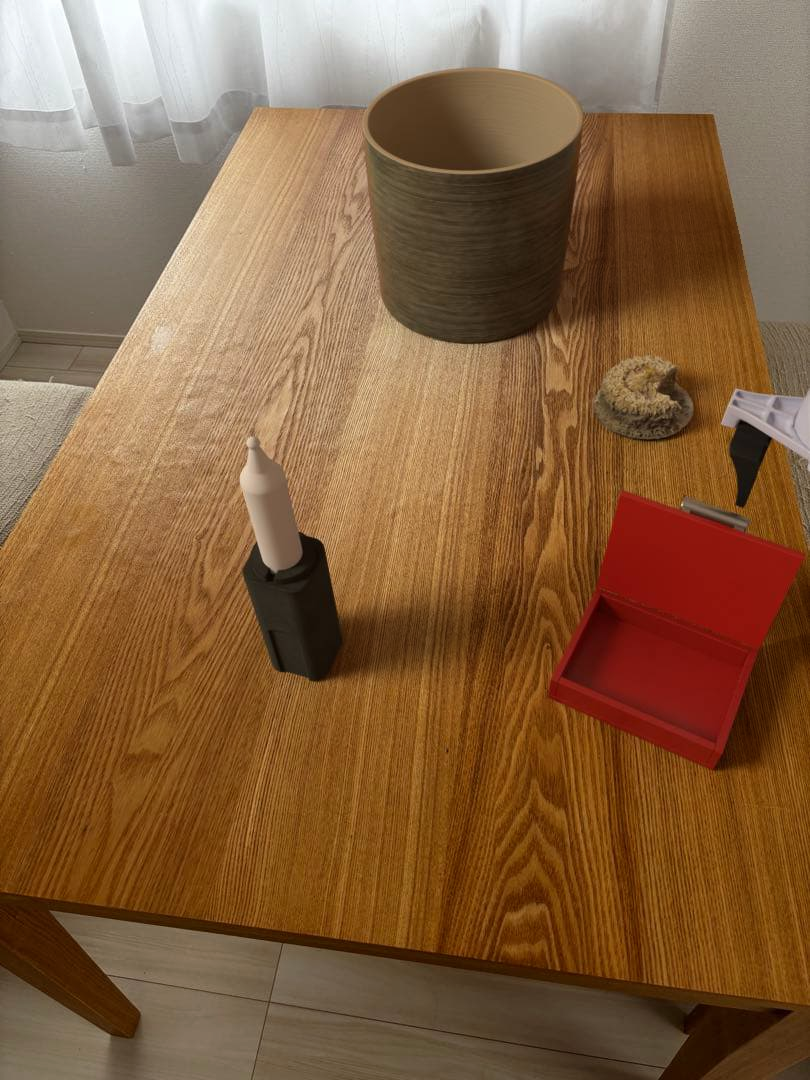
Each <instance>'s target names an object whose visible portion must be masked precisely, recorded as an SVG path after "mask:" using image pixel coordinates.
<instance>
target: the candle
mask: <svg viewBox="0 0 810 1080" xmlns="http://www.w3.org/2000/svg"><path fill="white" fill-rule="evenodd" d="M245 444H246V446H247V448H248V452H247V458H246V464H245V466H244V467H243V468H242V470H241V472H240V474H239V484H240V488H241V491H242V494H243V498H244V501H245V505H246V508H247V513H248V516H249V519H250V522H251V525H252V529H253V532H254V535H255V539H256V542H255V543H254V544H253V545H252V548H251V550H250V555H249V556H248V558H247V560H246V562H245V563H244V566H243V567H242V571H241V572H242V577H243V580H244V583H245V586H246V590H247V592H248V596H249V598H250V602H251V605H252V608H253V611H254V614H255V616H256V619H257V623H258V625H259V629H260V632H261V634H262V637H263V640H264V643H265V646H266V649H267V652H268V653H267V654H268V656H269V659H270V662H271V665H272V667H273V669H274V670H276V671H277V672H279V673H283V672H287V673H290V674H293V675H297V676H300V677H304V678H307V679H308V681H309V682H319V681H322V680H324V679H326V678H327V677H328V676H329V674H330V672H331V670H332V668H333V665H334V664H335V661H336V659H337V657H338V654H339V652H340V650H341V648H342V646H343V643H344V641H343V640H344V639H343V634H342V629H341V624H340V618H339V614H338V609H337V604H336V598H335V592H334V589H333V584H332V583H333V582H332V578H331V573H330V568H329V562H328V558H327V552H326V548H325V545H324V543H323V541H322V540H320V539H318V538H316V537H313V536H309V535H306V534H305V533H304V532H302V531H300V530H299V528H298V524H297V520H296V516H295V512H294V511H295V510H294V508H293V502H292V498H291V495H290V491H289V490H290V489H289V486H288V481H287V476H286V473H285V470H284V468H283V466H282V465H281V464H280V463H279V462H277V461H275V460H273V459H271V458H270V457H269V456H268V455H267V453H266V452H265V451H264V450H263V448H262V447H261V440H260V438H259V437H257V436H254V435H252V436H249V437H248V438H247V439H246V442H245Z"/></svg>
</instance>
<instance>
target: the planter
mask: <svg viewBox="0 0 810 1080" xmlns="http://www.w3.org/2000/svg"><path fill="white" fill-rule="evenodd" d="M584 121H585V115H584V111H583V108H582V106H581V104H580V102H579V101H578V99H577V98H576V97H575V96H574V95H573V94H572V93H571V92H570V91H568V89H566V88H565V87H563V86H562V85H560V84H558V83H557V82H555V81H552V80H549V79H548V78H545V77H542V76H540V75H536V74H533V73H530V72H529V73H528V72H525V71H521V70H520V71H519V70H514V69H509V68H501V67H500V68H499V67H497V68H496V67H479V66H478V67H459V68H450V69H443V70H437V71H432V72H427V73H424V74H420V75H417V76H414V77H410V78H408V79H405V80H403V81H401V82H398V83H396V84H394V85H392V86H390V87H389V88H387V89H385V90H383V92H381V93H380V94H378V95H377V96H375V98H373V100H371V102H370V103H369V105H368V106H367V107H366V109H365V111H364V113H363V116H362V120H361V130H362V139H363V140H362V142H363V149H364V150H363V152H364V161H365V168H366V169H365V171H366V182H367V189H368V199H369V208H370V209H369V210H370V217H371V225H372V234H373V241H374V250H375V256H376V265H377V266H376V267H377V274H378V283H379V290H380V296H381V300H382V302H383V305H384V306H385V309H386V310H387V312H388V313H389V314H390V315H391V316H392V317H393V319H395V320H396V321H397V322H398V323H399V324H401V325H403V326H404V327H405V328H407V329H409V330H411V331H413V332H414V333H416V334H419V335H421V336H425V337H428V338H430V339H434V340H437V341H438V340H439V341H443V342H449V343H461V344H462V343H463V344H474V343H475V344H477V343H478V344H479V343H488V342H494V341H499V340H503V339H507V338H511V337H513V336H516V335H519V334H522V333H524V332H526V331H528V330H530V329H531V328H533V327H535V326H536V325H539V324H540V323H541V322H542V321H543V320H544V319H546V318H547V316H549V315H550V313H551V312H552V311H553V310H554V308H555V306H557V304H558V301H559V299H560V296H561V291H562V287H563V280H564V279H563V278H564V273H565V265H566V264H565V263H566V257H567V250H568V244H569V239H570V238H569V237H570V231H571V224H572V216H573V211H574V203H575V194H576V188H577V180H578V172H579V165H580V156H581V148H582V139H583V131H584V123H585V122H584Z"/></svg>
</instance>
